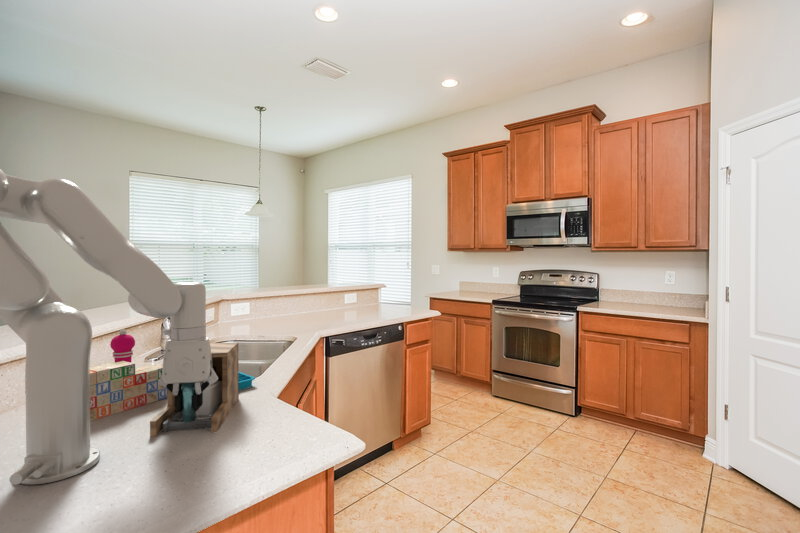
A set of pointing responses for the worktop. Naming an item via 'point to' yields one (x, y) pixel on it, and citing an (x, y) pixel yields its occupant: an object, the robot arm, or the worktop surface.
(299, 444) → the worktop surface
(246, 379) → the ice cube tray
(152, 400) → the stack of blocks
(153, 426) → the shelf lane
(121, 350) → the pepper mill
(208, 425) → the frame
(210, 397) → the medicine bottle
